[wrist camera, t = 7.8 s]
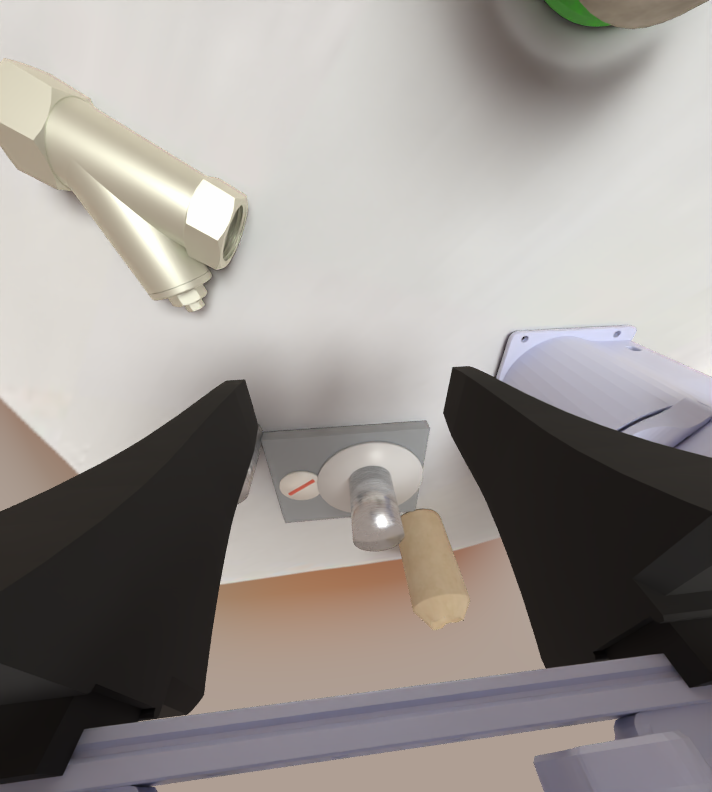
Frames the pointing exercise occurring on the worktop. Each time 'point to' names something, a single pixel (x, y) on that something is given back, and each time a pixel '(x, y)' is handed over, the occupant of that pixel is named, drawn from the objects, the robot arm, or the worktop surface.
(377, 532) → the cylinder
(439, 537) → the candle
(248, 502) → the worktop surface
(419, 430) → the scale
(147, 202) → the pipe fitting
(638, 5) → the multicoloured stacked round part
